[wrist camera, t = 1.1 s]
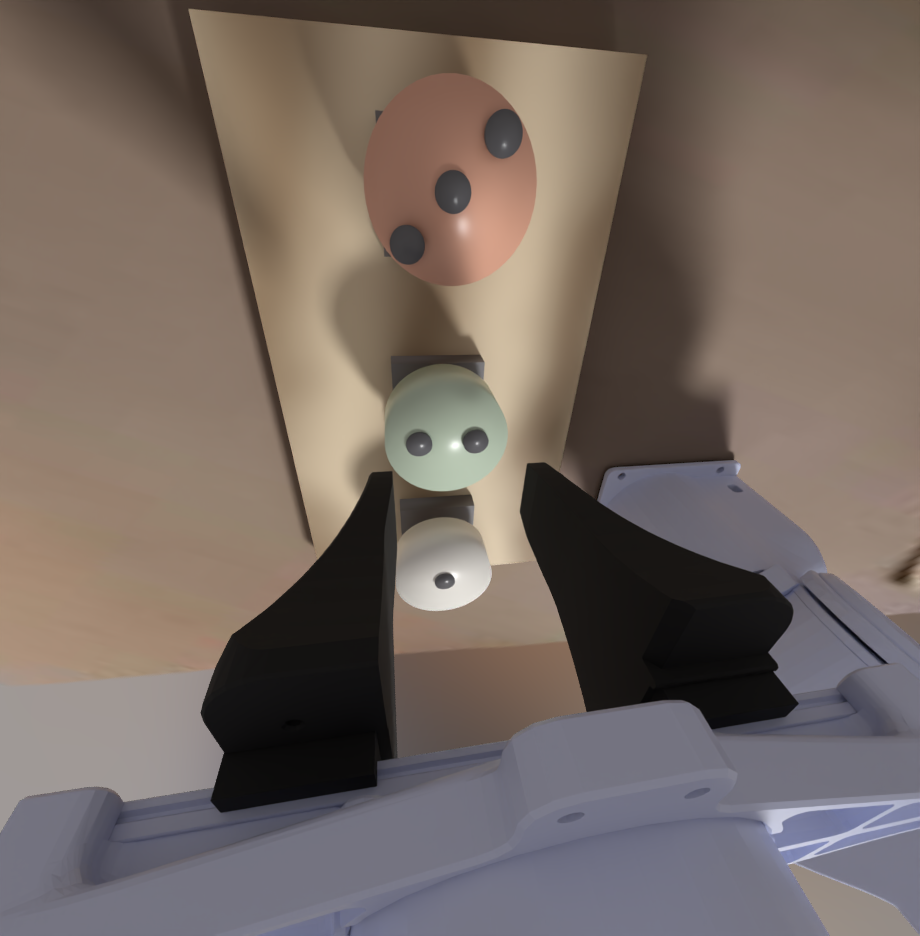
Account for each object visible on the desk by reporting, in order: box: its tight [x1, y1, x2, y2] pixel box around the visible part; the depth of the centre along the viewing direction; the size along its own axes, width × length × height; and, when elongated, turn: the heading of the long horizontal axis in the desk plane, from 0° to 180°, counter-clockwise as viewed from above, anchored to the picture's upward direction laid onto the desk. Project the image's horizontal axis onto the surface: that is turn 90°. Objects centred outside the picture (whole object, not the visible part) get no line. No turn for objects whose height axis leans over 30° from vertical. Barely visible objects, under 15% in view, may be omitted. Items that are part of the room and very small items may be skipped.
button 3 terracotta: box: [364, 73, 537, 286], centre depth 12 cm, size 5×5×2 cm
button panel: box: [188, 9, 647, 565], centre depth 19 cm, size 14×24×3 cm, turn 178°
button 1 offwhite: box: [396, 517, 492, 611], centre depth 21 cm, size 5×5×2 cm
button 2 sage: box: [385, 364, 508, 491], centre depth 16 cm, size 5×5×2 cm
